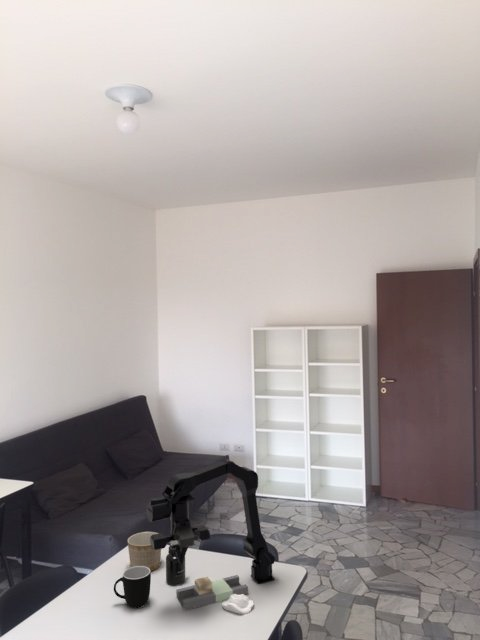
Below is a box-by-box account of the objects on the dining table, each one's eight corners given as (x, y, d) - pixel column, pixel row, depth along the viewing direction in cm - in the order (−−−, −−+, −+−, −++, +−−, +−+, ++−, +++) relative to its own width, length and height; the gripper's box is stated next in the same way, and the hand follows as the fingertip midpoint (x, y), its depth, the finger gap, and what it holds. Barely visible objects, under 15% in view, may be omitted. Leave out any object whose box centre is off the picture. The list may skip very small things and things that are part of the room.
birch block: (207, 585, 178) (207, 576, 178) (212, 591, 174) (212, 582, 173) (195, 588, 176) (194, 579, 176) (199, 594, 172) (199, 585, 172)
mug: (152, 595, 177) (151, 565, 177) (150, 609, 168) (149, 578, 168) (116, 597, 176) (115, 567, 176) (111, 612, 167) (110, 580, 167)
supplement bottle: (182, 586, 182) (181, 551, 182) (163, 585, 184) (162, 550, 184) (188, 577, 189) (187, 543, 189) (170, 575, 190) (169, 542, 190)
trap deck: (237, 582, 184) (237, 574, 184) (248, 594, 176) (247, 586, 176) (176, 597, 176) (176, 589, 176) (184, 610, 167) (184, 602, 167)
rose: (224, 603, 163) (219, 588, 172) (224, 618, 163) (220, 601, 172) (255, 600, 165) (249, 584, 174) (256, 614, 165) (250, 598, 174)
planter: (159, 574, 192) (158, 545, 192) (124, 574, 192) (124, 546, 192) (165, 558, 204) (164, 531, 204) (132, 559, 205) (131, 532, 205)
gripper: (157, 529, 160) (159, 580, 160) (215, 518, 168) (216, 567, 168) (149, 517, 171) (150, 565, 171) (203, 507, 178) (204, 553, 178)
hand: (180, 563), depth 172 cm, fingers closed
